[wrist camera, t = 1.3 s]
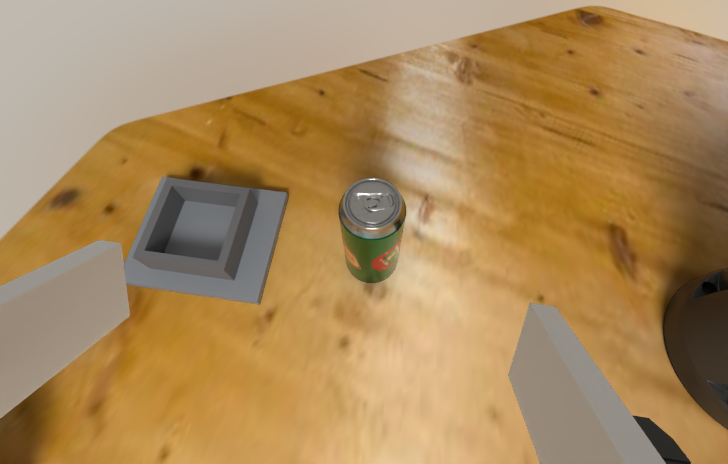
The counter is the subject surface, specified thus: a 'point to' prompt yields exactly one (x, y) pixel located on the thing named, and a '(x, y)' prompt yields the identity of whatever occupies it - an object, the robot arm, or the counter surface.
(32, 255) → the counter surface
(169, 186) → the mount
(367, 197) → the soda can
